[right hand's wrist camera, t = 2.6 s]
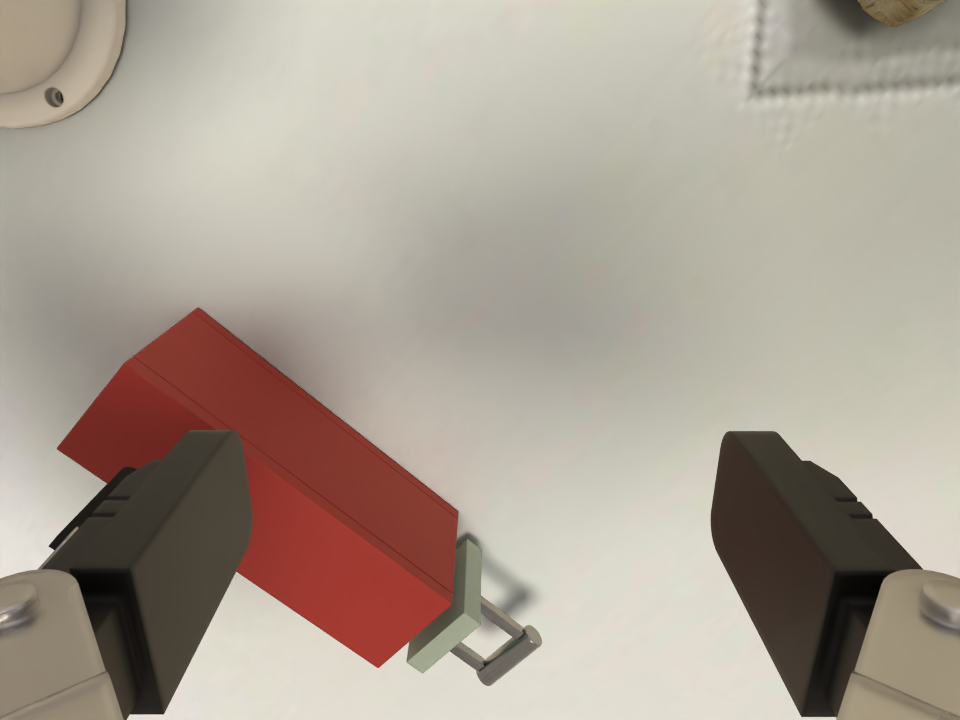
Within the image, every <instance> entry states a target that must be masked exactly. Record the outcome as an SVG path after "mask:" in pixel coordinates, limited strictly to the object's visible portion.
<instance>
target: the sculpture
mask: <svg viewBox="0 0 960 720" xmlns="http://www.w3.org/2000/svg"><path fill="white" fill-rule="evenodd" d="M857 1H858V2H859V3H860V6H861V8H862V10H864V11H865V12H866V13H868V14H869V15H870V16H872V17H873V18H874V19H876V20H878V21H881V22H883V23H884V24H886V25H888V26H891V27H895V26H898V25H901V24H903V23H907V22H909V21H911V20H913V19H915V18H917V17H919V16H921V15H923V14H925V13H926V12H928V11H930V10H932V9H934V8H936V7H937V6H939V5H940V4H942V3H943V2H945V1H947V0H857Z"/></svg>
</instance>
